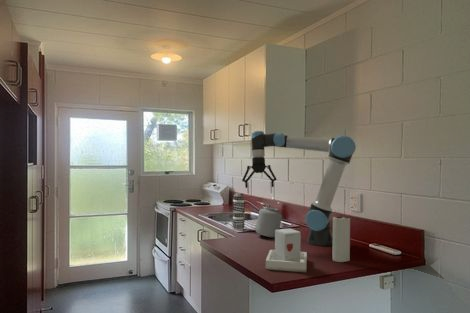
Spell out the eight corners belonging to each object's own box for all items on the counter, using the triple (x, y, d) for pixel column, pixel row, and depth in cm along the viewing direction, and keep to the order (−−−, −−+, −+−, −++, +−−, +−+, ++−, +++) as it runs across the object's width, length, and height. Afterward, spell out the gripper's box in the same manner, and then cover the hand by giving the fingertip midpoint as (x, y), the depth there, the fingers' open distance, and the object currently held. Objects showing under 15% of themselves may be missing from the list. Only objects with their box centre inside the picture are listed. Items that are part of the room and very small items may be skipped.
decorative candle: (229, 228, 237) (229, 193, 237) (239, 226, 243) (239, 192, 243) (237, 230, 230) (238, 194, 230) (247, 229, 236) (248, 193, 236)
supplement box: (284, 266, 154) (284, 233, 154) (274, 260, 162) (274, 229, 162) (300, 263, 158) (301, 231, 158) (289, 258, 166) (290, 227, 166)
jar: (279, 233, 225) (279, 195, 225) (288, 238, 211) (288, 198, 211) (252, 234, 220) (252, 196, 220) (259, 240, 206) (260, 199, 206)
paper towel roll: (330, 260, 166) (330, 217, 166) (336, 258, 171) (336, 215, 171) (343, 263, 161) (344, 219, 161) (349, 261, 165) (350, 217, 165)
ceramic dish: (306, 260, 166) (306, 252, 166) (306, 272, 149) (306, 263, 149) (270, 257, 170) (270, 249, 170) (265, 269, 153) (265, 260, 153)
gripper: (279, 157, 204) (280, 192, 202) (238, 158, 206) (239, 193, 204) (279, 155, 196) (281, 192, 194) (237, 157, 198) (238, 193, 196)
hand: (259, 193), depth 199 cm, fingers open, 13 cm apart
